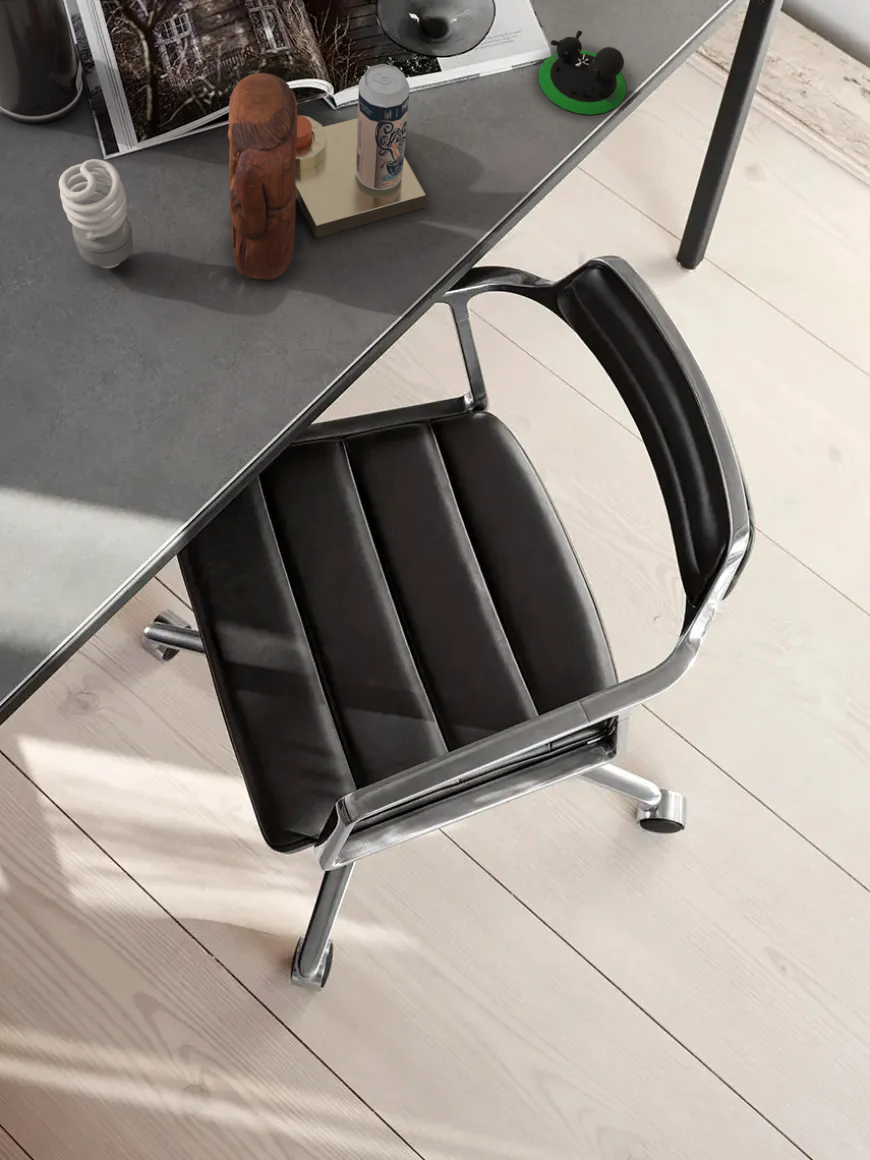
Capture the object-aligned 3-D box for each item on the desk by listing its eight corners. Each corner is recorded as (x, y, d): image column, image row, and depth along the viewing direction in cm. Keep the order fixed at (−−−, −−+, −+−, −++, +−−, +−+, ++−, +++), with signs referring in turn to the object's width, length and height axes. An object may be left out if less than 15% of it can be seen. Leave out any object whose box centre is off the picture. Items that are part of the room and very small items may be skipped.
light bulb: (129, 292, 108) (108, 202, 97) (72, 280, 108) (44, 188, 97) (147, 248, 110) (128, 155, 100) (91, 236, 110) (66, 141, 100)
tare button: (277, 132, 114) (277, 118, 113) (305, 125, 115) (305, 111, 113) (288, 153, 113) (288, 140, 111) (316, 146, 114) (316, 132, 112)
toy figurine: (580, 37, 128) (591, -8, 123) (644, 88, 126) (659, 44, 121) (519, 75, 125) (529, 30, 120) (584, 128, 122) (597, 84, 117)
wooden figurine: (239, 191, 115) (225, 40, 98) (302, 196, 115) (299, 47, 99) (228, 283, 110) (212, 141, 93) (294, 288, 110) (289, 147, 94)
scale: (260, 149, 117) (259, 122, 114) (375, 119, 120) (376, 93, 117) (306, 241, 113) (306, 216, 109) (424, 208, 116) (427, 183, 113)
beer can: (386, 200, 113) (393, 105, 102) (346, 180, 114) (349, 83, 103) (410, 171, 115) (420, 74, 104) (370, 151, 116) (375, 53, 105)
